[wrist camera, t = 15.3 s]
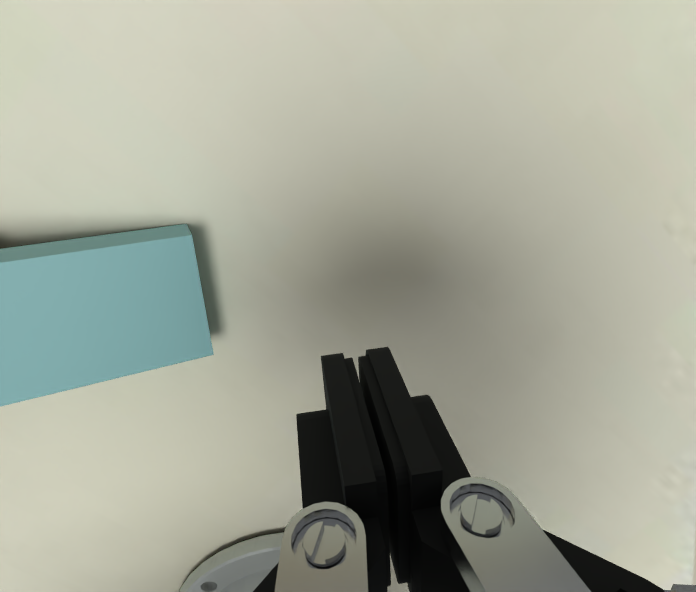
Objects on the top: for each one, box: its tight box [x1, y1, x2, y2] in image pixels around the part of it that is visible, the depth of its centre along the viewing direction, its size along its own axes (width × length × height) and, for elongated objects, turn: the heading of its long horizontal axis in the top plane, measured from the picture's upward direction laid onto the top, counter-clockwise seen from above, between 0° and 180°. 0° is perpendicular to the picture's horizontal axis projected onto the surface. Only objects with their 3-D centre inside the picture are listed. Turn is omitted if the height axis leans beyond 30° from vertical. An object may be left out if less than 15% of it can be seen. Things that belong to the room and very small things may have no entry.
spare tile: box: [0, 224, 214, 406], centre depth 16 cm, size 5×2×10 cm
